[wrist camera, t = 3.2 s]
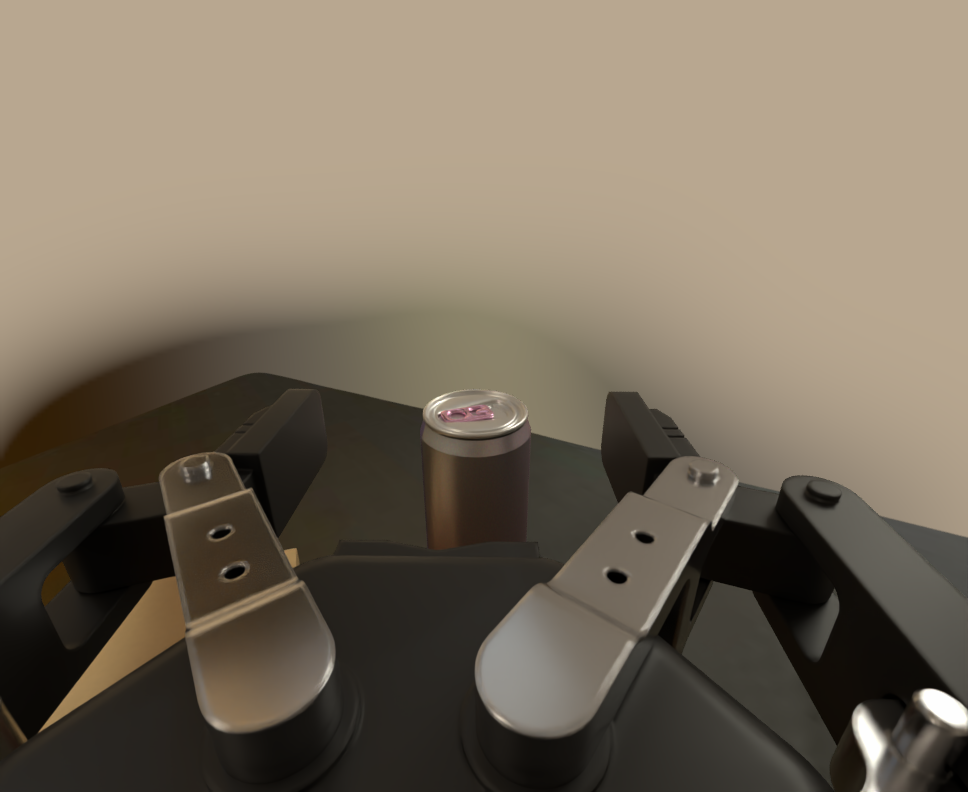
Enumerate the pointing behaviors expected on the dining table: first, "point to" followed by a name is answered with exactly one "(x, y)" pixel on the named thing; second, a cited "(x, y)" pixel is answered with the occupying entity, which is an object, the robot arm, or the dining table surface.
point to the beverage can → (475, 468)
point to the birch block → (135, 641)
